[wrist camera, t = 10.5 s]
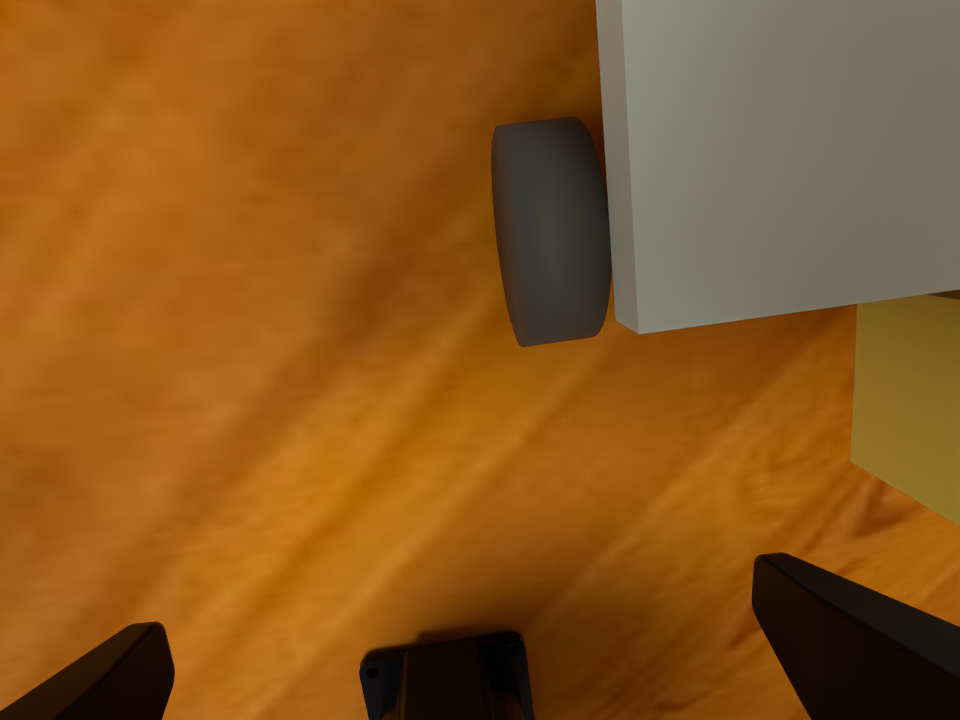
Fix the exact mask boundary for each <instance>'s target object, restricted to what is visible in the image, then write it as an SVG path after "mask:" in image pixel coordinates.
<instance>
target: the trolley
mask: <svg viewBox="0 0 960 720" xmlns="http://www.w3.org/2000/svg"><path fill="white" fill-rule="evenodd" d="M596 16H597V32H598V48H599V64H600V81H601V97H602V113H603V129H604V145H605V161H606V177H607V193H608V206H607V200H606V194H605V188H604V183H603V178H602V173H601V168H600V164H599V161H598V157H597V153H596V150H595V147H594V144H593V142H592V139H591V137H590V134H589V132H588V131H587V129H586V127H585V125H584V124H583V123H582V121H581V120H579V119H578V118H577V117H566V118H558V119H550V120H542V121H533V122H525V123H517V124H509V125H500V126H496V127H495V129H494V133H493V139H492V155H491V169H492V193H493V208H494V219H495V229H496V238H497V247H498V254H499V262H500V268H501V275H502V281H503V287H504V292H505V297H506V303H507V307H508V312H509V316H510V320H511V324H512V327H513V331H514V334H515V336H516V339H517V341H518V343H519V345H520V346H521V347H527V346H534V345H541V344H548V343H555V342H562V341H569V340H576V339H584V338H591V337H594V336H596V335H597V334H598V333H599V332H600V330H601V328H602V326H603V323H604V321H605V317H606V313H607V308H608V302H609V293H610V281H611V257H612V273H613V289H614V305H615V321H617V322H619V323H620V324H622V325H624V326H625V327H627V328H629V329H630V330H632V331H634V332H635V333H637V334H646V333H653V332H660V331H668V330H675V329H682V328H689V327H696V326H703V325H710V324H717V323H724V322H732V321H739V320H746V319H753V318H760V317H767V316H774V315H781V314H788V313H796V312H803V311H810V310H817V309H824V308H831V307H838V306H845V305H852V304H860V303H867V302H874V301H881V300H888V299H895V298H902V297H909V296H916V295H924V294H931V293H938V292H945V291H952V290H959V289H960V0H596Z"/></svg>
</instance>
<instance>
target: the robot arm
mask: <svg viewBox="0 0 960 720" xmlns="http://www.w3.org/2000/svg"><path fill="white" fill-rule="evenodd" d="M752 607H753V611H754V613H755V616H756V618H757V620H758V622H759V624H760V626H761V628H762V630H763V631H764V633H765V635H766V637H767V639H768V641H769V643H770V645H771V646H772V648H773V650H774V652H775V654H776V656H777V658H778V660H779V661H780V663H781V665H782V667H783V669H784V671H785V673H786V675H787V677H788V678H789V680H790V682H791V684H792V686H793V688H794V690H795V692H796V693H797V695H798V697H799V699H800V701H801V702H802V704H803V706H804V708H805V709H806V711H807V713H808V714H809V716H810V718H811V719H812V720H960V627H959V626H956V625H954V624H952V623H949V622H947V621H945V620H942V619H940V618H937V617H935V616H933V615H930V614H928V613H926V612H923V611H921V610H919V609H916V608H914V607H912V606H909V605H907V604H904V603H902V602H900V601H897V600H895V599H893V598H890V597H888V596H886V595H883V594H881V593H879V592H876V591H874V590H871V589H869V588H867V587H864V586H862V585H860V584H857V583H855V582H853V581H850V580H848V579H846V578H843V577H841V576H838V575H836V574H834V573H831V572H829V571H827V570H824V569H822V568H820V567H817V566H815V565H813V564H810V563H808V562H805V561H803V560H801V559H798V558H796V557H794V556H791V555H789V554H787V553H782V552H779V553H770V554H761V555H759V556H757V557H756V559H755V561H754V570H753V586H752ZM511 644H516V646H514V647H508V646H509V645H511ZM371 667H375V668H377V669H376V670H370V669H368V668H371ZM359 675H360V680H361V685H362V689H363V694H364V698H365V703H366V708H367V712H368V717H369V720H534V714H533V706H532V698H531V690H530V682H529V674H528V666H527V657H526V649H525V644H524V640H523V637H522V635H520V634H519V633H517V632H504V633H498V634H492V635H486V636H480V637H474V638H468V639H462V640H456V641H450V642H443V643H437V644H431V645H425V646H419V647H413V648H407V649H401V650H395V651H389V652H383V653H377V654H371V655H368V656H366V657H365V658H363V659H362V661H361V664H360V671H359ZM174 677H175V669H174V663H173V659H172V655H171V651H170V647H169V643H168V639H167V635H166V631H165V628H164V626H163V625H162V624H161V623H159V622H146V623H137V624H132V625H129V626H127V627H126V628H124V629H123V630H121V631H120V632H118V633H117V634H115V635H114V636H112V637H111V638H109V639H108V640H106V641H105V642H103V643H102V644H100V645H99V646H97V647H96V648H94V649H93V650H91V651H90V652H88V653H87V654H85V655H84V656H82V657H81V658H79V659H78V660H76V661H75V662H73V663H72V664H70V665H69V666H67V667H66V668H64V669H63V670H61V671H60V672H58V673H57V674H55V675H54V676H52V677H51V678H49V679H48V680H46V681H45V682H43V683H42V684H40V685H39V686H37V687H36V688H34V689H33V690H31V691H30V692H28V693H27V694H25V695H24V696H22V697H21V698H19V699H18V700H16V701H15V702H13V703H12V704H10V705H9V706H7V707H6V708H4V709H3V710H1V711H0V720H162V717H163V714H164V711H165V708H166V705H167V702H168V699H169V696H170V693H171V690H172V687H173V683H174Z"/></svg>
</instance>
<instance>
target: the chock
mask: <svg viewBox="0 0 960 720" xmlns="http://www.w3.org/2000/svg"><path fill="white" fill-rule="evenodd" d="M850 461H851V462H852V463H854V464H856V465H857V466H859V467H861V468H862V469H864V470H866V471H867V472H869V473H871V474H872V475H874V476H876V477H877V478H879V479H881V480H882V481H884V482H886V483H887V484H889V485H891V486H892V487H894V488H896V489H897V490H899V491H901V492H902V493H904V494H906V495H907V496H909V497H911V498H912V499H914V500H916V501H917V502H919V503H921V504H922V505H924V506H926V507H927V508H929V509H931V510H932V511H934V512H936V513H937V514H939V515H941V516H942V517H944V518H946V519H947V520H949V521H951V522H952V523H954V524H956V525H957V526H959V527H960V289H959V290H952V291H945V292H938V293H931V294H924V295H916V296H909V297H902V298H895V299H888V300H881V301H874V302H867V303H860V304H857V321H856V344H855V367H854V390H853V413H852V436H851V459H850Z"/></svg>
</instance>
